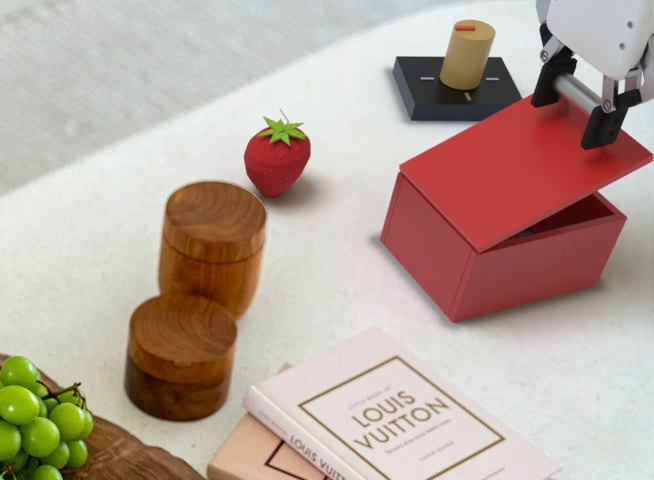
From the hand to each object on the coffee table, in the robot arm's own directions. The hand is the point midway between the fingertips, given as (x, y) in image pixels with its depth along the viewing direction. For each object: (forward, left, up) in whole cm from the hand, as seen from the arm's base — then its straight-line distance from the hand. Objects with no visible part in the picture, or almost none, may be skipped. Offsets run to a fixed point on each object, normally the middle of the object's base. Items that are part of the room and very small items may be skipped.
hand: (571, 122), depth 99 cm
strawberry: (+23, -10, -16) cm, 29 cm away
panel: (0, -28, -15) cm, 32 cm away
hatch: (+4, +1, -4) cm, 5 cm away
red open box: (+4, +1, -15) cm, 16 cm away
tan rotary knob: (0, -28, -12) cm, 30 cm away
